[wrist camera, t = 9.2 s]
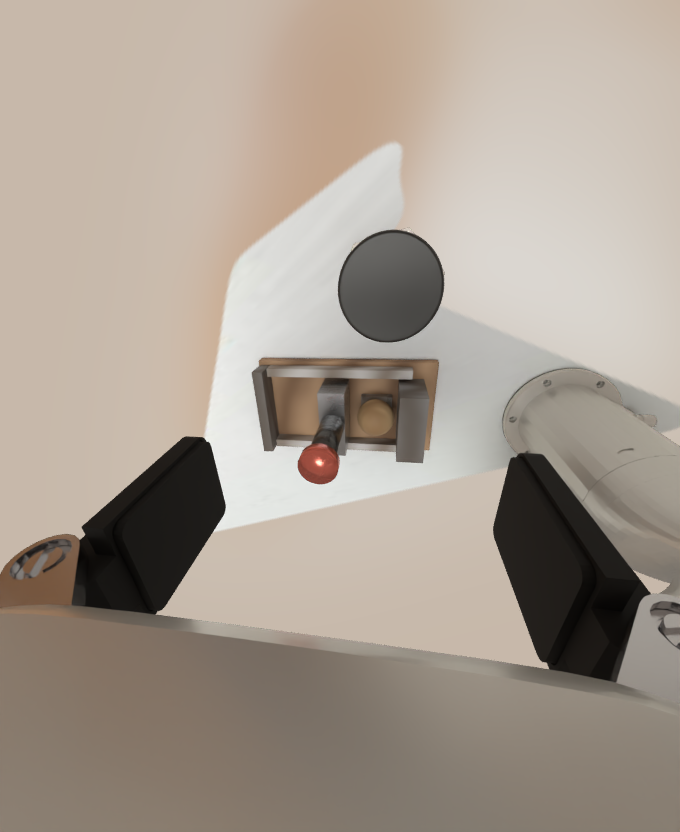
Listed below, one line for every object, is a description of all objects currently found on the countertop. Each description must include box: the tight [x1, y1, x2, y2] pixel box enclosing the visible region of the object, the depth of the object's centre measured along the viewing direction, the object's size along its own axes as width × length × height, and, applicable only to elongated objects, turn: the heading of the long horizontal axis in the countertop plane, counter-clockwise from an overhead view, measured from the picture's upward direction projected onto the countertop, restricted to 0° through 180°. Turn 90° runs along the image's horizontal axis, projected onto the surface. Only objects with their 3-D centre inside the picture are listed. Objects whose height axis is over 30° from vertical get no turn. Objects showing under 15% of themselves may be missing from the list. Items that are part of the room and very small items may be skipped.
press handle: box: [298, 378, 350, 484], centre depth 35 cm, size 4×8×13 cm, turn 2°
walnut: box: [357, 399, 394, 436], centre depth 38 cm, size 4×4×4 cm
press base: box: [252, 358, 439, 463], centre depth 39 cm, size 22×12×7 cm, turn 92°
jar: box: [338, 228, 445, 342], centre depth 30 cm, size 9×8×12 cm
